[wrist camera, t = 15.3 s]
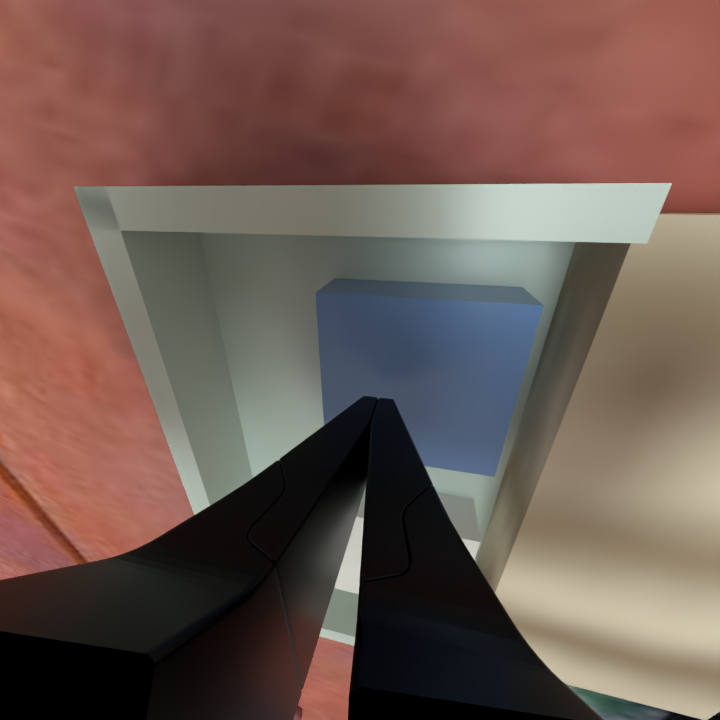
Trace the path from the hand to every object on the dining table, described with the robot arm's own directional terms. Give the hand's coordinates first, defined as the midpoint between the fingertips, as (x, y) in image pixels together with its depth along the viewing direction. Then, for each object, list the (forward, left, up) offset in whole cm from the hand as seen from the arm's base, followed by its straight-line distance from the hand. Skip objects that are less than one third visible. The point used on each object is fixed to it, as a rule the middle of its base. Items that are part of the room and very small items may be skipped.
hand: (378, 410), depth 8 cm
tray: (-5, +1, -4) cm, 6 cm away
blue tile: (0, -1, -3) cm, 3 cm away
